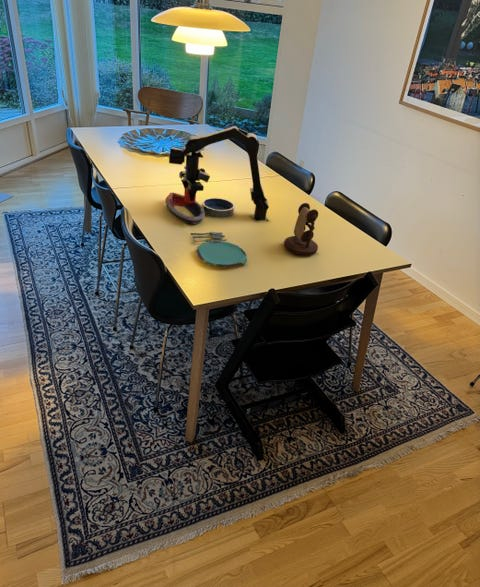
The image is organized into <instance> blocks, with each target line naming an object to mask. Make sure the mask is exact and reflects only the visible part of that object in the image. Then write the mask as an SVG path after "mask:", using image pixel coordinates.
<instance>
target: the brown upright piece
mask: <svg viewBox="0 0 480 587" xmlns="http://www.w3.org/2000/svg"><path fill="white" fill-rule="evenodd" d="M297 212H298V215H297V219H296V221H295V226H294V229H293V235H291V236H288V237H286V238H285V239H284V241H283V245H284V247H285V249H287V250H288V251H290V252H293V253H294V254H295V256H298V254H300V255H313V254H316V253H317V252H318V249H319V245H318V244H317V242H316V241H314V240H313V238H314V234H315V233H314V231H315V228H316V227H315V223H316V220H317V219H318V217H319V211H318V210H317V209H311V206H310V204H309V203H307V202H303V203H301V204H300V205H299V207H298V209H297ZM306 226H307V227H306ZM306 228H308V229H307V230H306Z"/></svg>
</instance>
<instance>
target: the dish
mask: <svg viewBox="0 0 480 587" xmlns="http://www.w3.org/2000/svg"><path fill="white" fill-rule="evenodd" d="M164 200H165V205H166V207H167V210H168V211H169V213H170V214H171V215H172V216H173V217H175V218H176V219H177V220H179V221H180V222H183V223H186V224H189V225H197V224H200V223H202V221H203V219H204V217H205V215H206V214H205V212H204V209H203V208H202V205H201V204H200V203H199V202H198V201H197V200H196V201H195V202H194V203H187V202H185V201H184V194H180V193H176V192H174V191H173V192H170V193H168V195H167V196H166V197H165V199H164ZM176 207H182V208H185V209H186V210H187V211H189V212H190V213H191V214H192V215H193V216H189V215H187V214H184V213H183V212H181V211H179V210H178V209H176Z"/></svg>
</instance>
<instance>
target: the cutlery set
mask: <svg viewBox="0 0 480 587" xmlns="http://www.w3.org/2000/svg"><path fill="white" fill-rule="evenodd" d="M205 235H206V236H205ZM207 235H210V236H207ZM190 236H192V237H191V238H192V239H204V240H194V241H193V242H194V244H195V243H199V242H200V243H201V242H202V243H201V244H199V245H197V246H196V248H197V249H196V253H197V256H198V257H199V259H200V260H202V261H204V263H205V264H206V265H208V266H211V267H214V266H218V267H235V266H238V265H241V264H243V265H245V264H246V263H247V261H248V256H247V254H246V251H245V250H244V249H243V248H241V246H239V245H237V244H235V243H232V242H228V239H224V238H226V236H225V235H223V232H219V231H217V232H216V231H209V232H190Z"/></svg>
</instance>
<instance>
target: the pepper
mask: <svg viewBox="0 0 480 587" xmlns="http://www.w3.org/2000/svg"><path fill="white" fill-rule="evenodd" d="M183 192H184V194H183V195H184V201H185V202H187V203H194V202H195V201H196V202H197V194H196V195H195V197H194V200H193V201H191V200H190V197H189V193H188V190H187V187H186V189H184V191H183Z"/></svg>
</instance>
